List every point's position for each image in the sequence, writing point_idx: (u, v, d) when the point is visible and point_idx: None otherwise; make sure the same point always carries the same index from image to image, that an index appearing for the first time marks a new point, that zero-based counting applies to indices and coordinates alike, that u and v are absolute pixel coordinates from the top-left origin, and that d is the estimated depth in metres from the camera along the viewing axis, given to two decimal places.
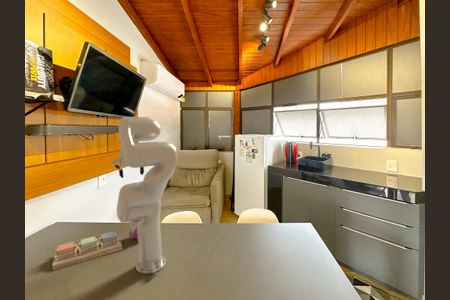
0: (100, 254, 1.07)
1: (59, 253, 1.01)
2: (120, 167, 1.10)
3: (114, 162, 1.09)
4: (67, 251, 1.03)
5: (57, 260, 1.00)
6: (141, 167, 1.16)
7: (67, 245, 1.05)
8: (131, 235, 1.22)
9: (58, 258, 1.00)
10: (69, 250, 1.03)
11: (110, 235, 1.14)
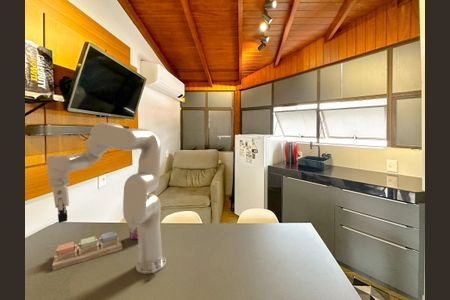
0: (100, 254, 1.07)
1: (59, 253, 1.01)
2: (65, 210, 1.02)
3: (62, 208, 0.98)
4: (67, 251, 1.03)
5: (57, 260, 1.00)
6: None
7: (67, 245, 1.05)
8: (131, 235, 1.22)
9: (58, 258, 1.00)
10: (69, 250, 1.03)
11: (110, 235, 1.14)
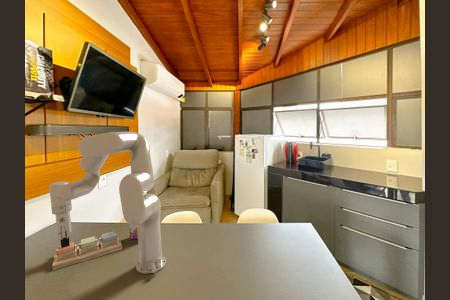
0: (100, 254, 1.07)
1: (59, 253, 1.01)
2: (67, 235, 1.04)
3: (65, 235, 1.01)
4: (67, 251, 1.03)
5: (57, 260, 1.00)
6: None
7: None
8: (131, 235, 1.22)
9: (58, 258, 1.00)
10: (69, 250, 1.03)
11: (110, 235, 1.14)
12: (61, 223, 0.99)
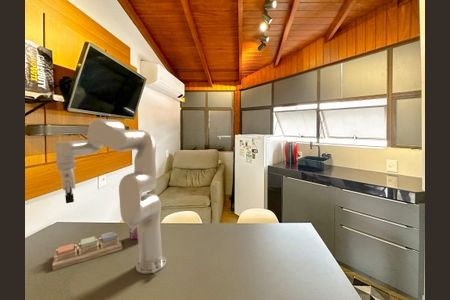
0: (100, 254, 1.07)
1: None
2: None
3: (70, 190, 1.07)
4: None
5: (57, 260, 1.00)
6: None
7: (67, 247, 1.05)
8: (131, 235, 1.22)
9: (58, 258, 1.00)
10: None
11: (110, 235, 1.14)
12: (66, 178, 1.06)
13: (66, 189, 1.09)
